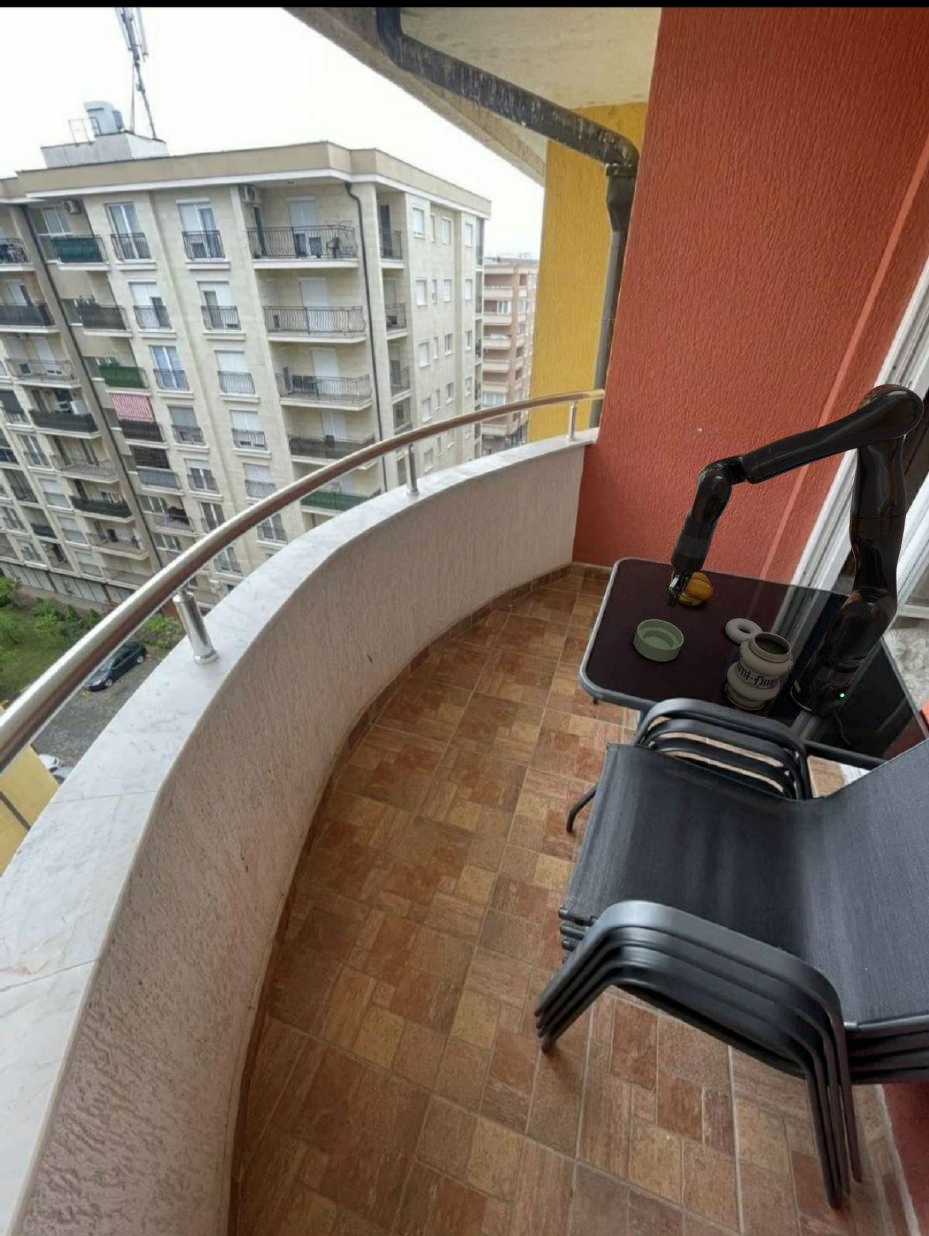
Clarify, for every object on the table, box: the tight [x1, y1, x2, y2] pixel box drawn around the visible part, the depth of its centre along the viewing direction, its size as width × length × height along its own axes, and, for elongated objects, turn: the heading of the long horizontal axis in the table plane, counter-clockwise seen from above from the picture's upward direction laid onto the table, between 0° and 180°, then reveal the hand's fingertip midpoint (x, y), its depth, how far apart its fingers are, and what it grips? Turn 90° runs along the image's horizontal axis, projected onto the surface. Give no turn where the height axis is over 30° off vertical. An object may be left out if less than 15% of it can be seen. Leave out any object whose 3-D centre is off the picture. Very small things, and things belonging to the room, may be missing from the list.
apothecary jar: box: [723, 631, 794, 711], centre depth 133 cm, size 12×12×18 cm
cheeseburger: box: [678, 571, 714, 607], centre depth 166 cm, size 10×11×10 cm
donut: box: [724, 617, 764, 645], centre depth 155 cm, size 10×4×10 cm
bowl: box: [632, 618, 685, 662], centre depth 150 cm, size 12×12×5 cm
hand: (671, 605), depth 141 cm, fingers closed
